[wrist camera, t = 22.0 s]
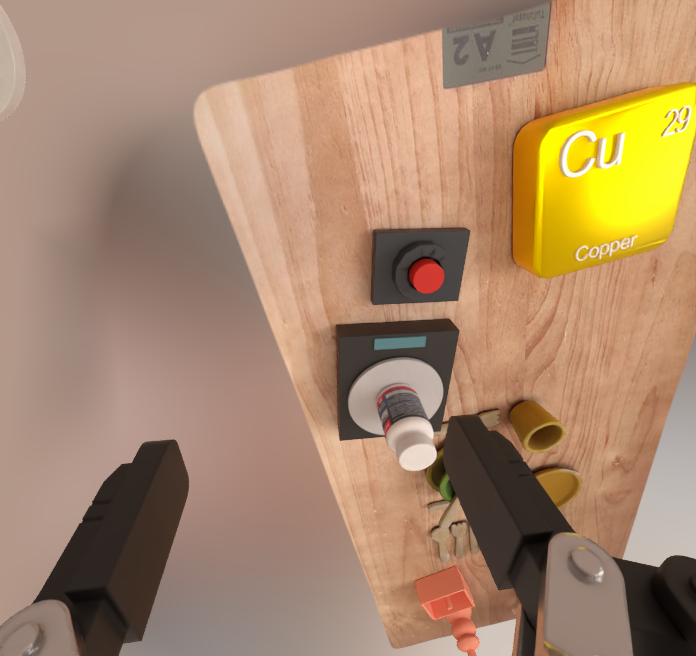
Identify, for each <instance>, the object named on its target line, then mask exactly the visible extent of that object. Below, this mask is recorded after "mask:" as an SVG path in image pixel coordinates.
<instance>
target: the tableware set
mask: <svg viewBox="0 0 696 656" xmlns="http://www.w3.org/2000/svg"><path fill="white" fill-rule="evenodd" d="M499 414H500V410H494V411H489V412H484V413H481V414H479V415H478V416H479V417H480V419H481V420H482V422H483V423H484V425H485V426H486V428H488V427H491V426H494V425H497V424H499V420H498V419H499V418H500V416H499ZM510 421H511V423H512V425H513V427H514V429H515V431H516V433H517V435H518V437H519V439H520V441H521V443H522V445H523V447H524V449H525V450H527V451H528V452H531V453H541V452H545V451H548V450H550V449H552V448H554V447H555V446H557V445H558V444H559V443H560V442H561V441H562V440H563V438H564V437H565V435H566V428H565V426H564V425H563V424H562V423H561V422H560V421H558V420H557V419H556V418H555V417H553V416H552V415H551V414H550V413H548V412H547V411H546V410H545V409H543V408H542V407H541V406H540V405H539V404H537V403H536V402H533V401H524V402H521V403H519V404H518V405H516V406H515V407H514V408H513V409H512V411H511V413H510ZM447 428H448V423H446V424H442V427H441V431H440V432H433V433H434V434H433V436H437V435H441V434H445V433H447ZM443 448H444V447H443ZM443 448H442V449H440V450H439V451H438V452H437V457H436V459H435V461H434V462H433V463H432V464H431V465H430V466H429V467H428V468H427V474H426V477H427V481H428V483H429V484H430V486H431V487H432V488H434V489H435V490H437V491H439V492H440V494H441V496H442V497H443V498H444V499H445V500H446V501H441V502H436V503H432V504H429V506H428V509H429V511H431V512H432V511H437V510H441V509H445V508H447V509H446V510H445V512H444V514H443V515H442V517H441V519H440V521H439V526H440V527H438V528H436V529H434V530H433V531H432V532H431V537H432V539H433V540H435V541H437V542H438V544H439V556H440V560H441V561H442V562H446V561H448V560H449V554H448V550H447V546H446V542H445V540H446V539H447V538H448V536H449V534H450V531H449V529H448V527H449V526H450V525H451V523H452V521H453V519H454V517H455V515H456V512H457V510H458V509H459V507H460V505H461V504H460V502H459V500H458V497H457V495H456V493H455V491H454V488H453V486H452V484H451V482H450V479H449V477H448V475H447V472H446V470H445V466H444V462H443ZM533 475H535V477H536V478H537V479H538V481H539V482H540V484H541V485H542V487H543V488H544V489H545V491H546V492H547V494H548V495H549V497H550V498H551V499H552V501H553V502H554V504H555V505H556V506H557V508H558V509H560V508H562V507H564V506H565V505H567V504H568V503H569V502H571V501H572V500H573V499H574V498H575V497H576V496H577V495H578V493H579V492H580V490H581V488H582V483H583V482H582V478H581V476H580V475H579V474H578V473H577V472H575V471H573V470H570V469H564V468H549V469H544V470H541V471H538V472H536V473H534V474H533ZM466 531H467V527H466V522H462V523H461V524H460V523H457V525H456V524H453V525H451V533H452V535H453V536H455V537H456V541H455V556H456V558H462V557H463V556H464V550H463V539H462V536H463V535H464V534H465V533H466ZM469 535H470V550H471V552H472V554H477V553H478V552H479V548H478V543H477V540H476V538H475V536H474V534H473V531H472V529H471V527H470V525H469Z"/></svg>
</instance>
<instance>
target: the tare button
mask: <svg viewBox="0 0 696 656" xmlns="http://www.w3.org/2000/svg"><path fill="white" fill-rule="evenodd" d="M409 280H410V282H411V283H412V284H413V286H414V287H415V288H416V289H417V290H418V291H419V292H421V293H432V292H434V291H436V290H437V289H439V288H440V286H441V285H442V283H443V281H444V271H443V269H442V268H441V267H440V266H439V265H438V264H437V263H436V262H435V261H433V260H431V259H428V258H424V259H420V260H418V261H416V262H415V263H414V264H413V265H412V266H411V268H410V271H409Z"/></svg>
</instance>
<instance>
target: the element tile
mask: <svg viewBox="0 0 696 656" xmlns="http://www.w3.org/2000/svg"><path fill="white" fill-rule="evenodd" d="M695 138H696V83H694V82H683V83H676V84H670V85H663V86H657V87H650V88H645V89H642V90H638V91H634V92H631V93H627V94H624V95H620V96H617V97H613V98H609V99H606V100H602V101H599V102H595V103H591V104H588V105H584V106H581V107H577V108H573V109H570V110H566V111H563V112H559V113H555V114H552V115H548V116H545V117H541V118H537V119H535V120H533V121H531V122H529V123H528V124H526V125H525V126H524V127H523V128H522V129H521V130H520V132H519V133H518V134H517V137H516V140H515V143H514V147H513V258H514V260H515V262H516V264H517V265H519V266H520V267H522V268H524V269H525V270H527V271H529V272H531V273H532V274H534V275H536V276H538V277H539V278H553V277H556V276H560V275H564V274H567V273H571V272H575V271H578V270H582V269H586V268H589V267H593V266H597V265H600V264H604V263H608V262H611V261H615V260H619V259H622V258H626V257H630V256H633V255H637V254H641V253H644V252H648V251H651V250H653V249H655V248H657V247H659V246H660V245H662V244H663V243H664V242H665V241H666V240H667V239H668V237H669V236H670V234H671V232H672V230H673V227H674V223H675V219H676V215H677V211H678V207H679V203H680V199H681V195H682V191H683V187H684V183H685V178H686V174H687V170H688V166H689V162H690V158H691V154H692V150H693V146H694V142H695Z"/></svg>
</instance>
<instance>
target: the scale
mask: <svg viewBox="0 0 696 656" xmlns="http://www.w3.org/2000/svg"><path fill="white" fill-rule="evenodd" d="M458 335H459V330H458V328H457V327H456V326H455V325H454V324H453V322H452V321H451V320H450V319H440V320H421V321H403V322H384V323H366V324H347V325H337V401H338V430H339V437H340V441H342V440H353V439H364V438H375V437H385V434H384V431H383V427H382V424H381V420H380V417H379V414H378V410H377V406H376V401H377V397H378V395H379V394H380V393H381V392H382V391H383V390H384V389H385V388H387V387H389V386H391V385H394V384H406V385H409V386H411V387H412V388H413V389H414V390H415V391H416V392H417V394H418V397H419V399H420V401H421V404H422V406H423V408H424V410H425V413H426V415H427V417H428V419H429V421H430V423H431V426H432V428H433V432H440V431H441V427H442V421H443V416H444V411H445V405H446V400H447V395H448V389H449V384H450V378H451V373H452V368H453V362H454V357H455V352H456V346H457V341H458Z"/></svg>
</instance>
